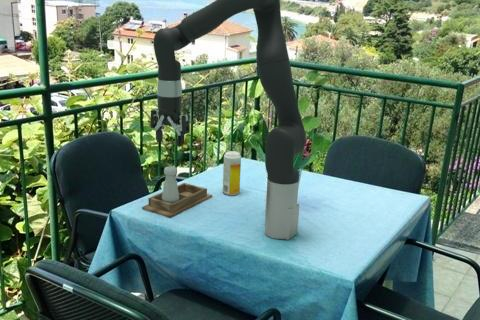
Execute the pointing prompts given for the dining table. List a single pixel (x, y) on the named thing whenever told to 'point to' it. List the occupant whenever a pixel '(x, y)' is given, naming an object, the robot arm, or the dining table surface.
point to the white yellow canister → (231, 173)
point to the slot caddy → (187, 200)
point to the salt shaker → (170, 185)
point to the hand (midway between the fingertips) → (169, 144)
